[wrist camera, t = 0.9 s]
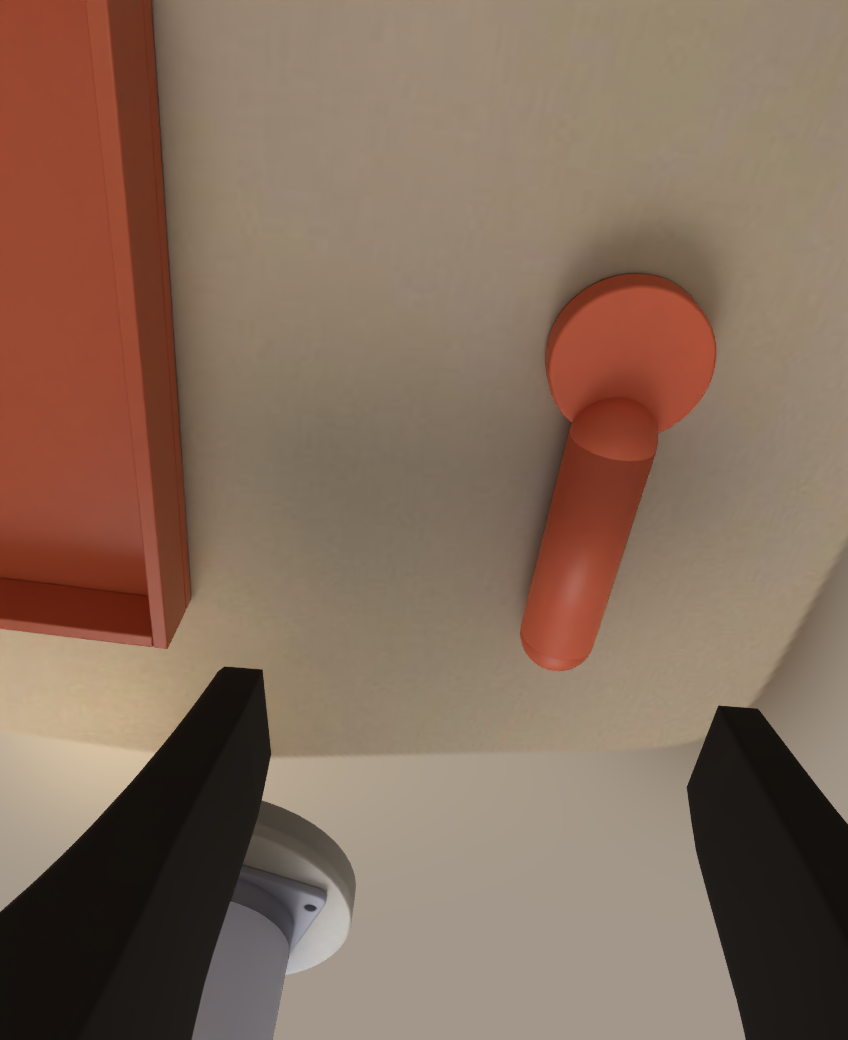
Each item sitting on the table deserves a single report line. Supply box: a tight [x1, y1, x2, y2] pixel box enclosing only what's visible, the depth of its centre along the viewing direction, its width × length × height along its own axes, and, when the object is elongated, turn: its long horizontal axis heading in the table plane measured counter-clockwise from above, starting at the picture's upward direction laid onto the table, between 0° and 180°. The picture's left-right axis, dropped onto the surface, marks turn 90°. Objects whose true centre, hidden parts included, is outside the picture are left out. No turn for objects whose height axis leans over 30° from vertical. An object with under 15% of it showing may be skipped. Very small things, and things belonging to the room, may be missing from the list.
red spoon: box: [520, 274, 716, 671], centre depth 19 cm, size 10×4×2 cm, turn 173°
